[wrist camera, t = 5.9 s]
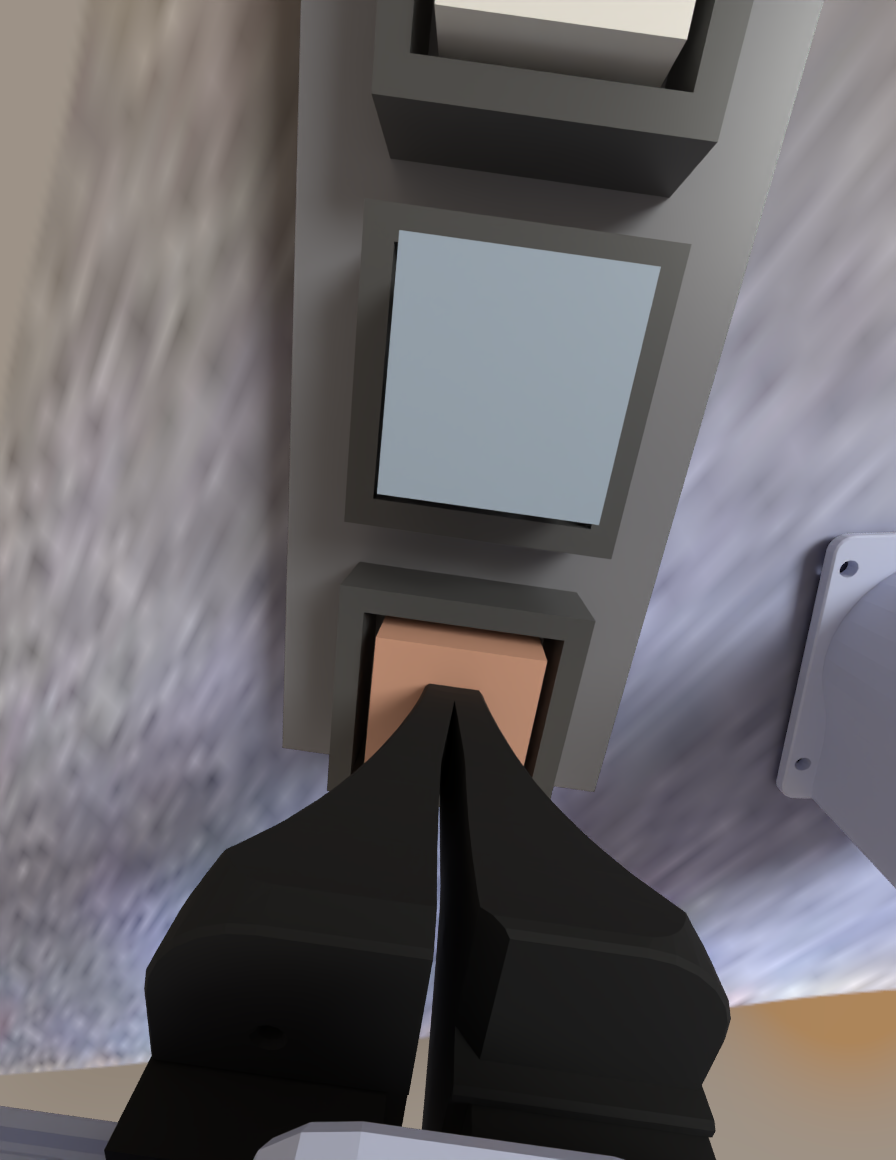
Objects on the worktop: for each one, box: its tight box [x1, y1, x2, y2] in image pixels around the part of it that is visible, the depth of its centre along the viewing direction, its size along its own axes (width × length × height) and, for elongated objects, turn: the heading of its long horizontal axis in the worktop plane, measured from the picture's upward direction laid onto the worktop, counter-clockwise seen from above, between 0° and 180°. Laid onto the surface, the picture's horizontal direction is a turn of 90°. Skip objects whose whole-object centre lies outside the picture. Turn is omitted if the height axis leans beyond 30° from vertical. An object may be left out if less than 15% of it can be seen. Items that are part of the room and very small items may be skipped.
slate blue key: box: [377, 230, 661, 525], centre depth 9 cm, size 4×4×2 cm
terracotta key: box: [364, 616, 547, 766], centre depth 12 cm, size 4×4×2 cm
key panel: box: [282, 0, 824, 807], centre depth 11 cm, size 22×10×4 cm, turn 172°
